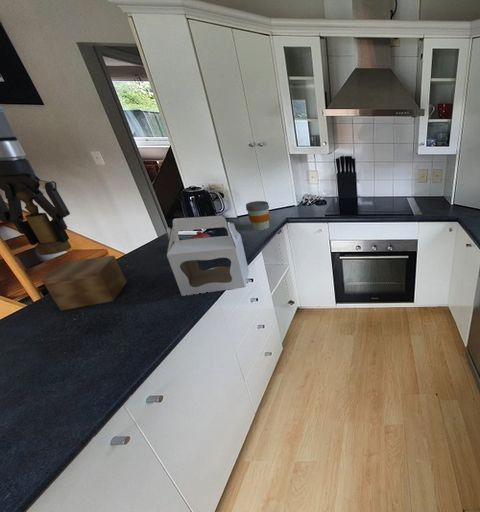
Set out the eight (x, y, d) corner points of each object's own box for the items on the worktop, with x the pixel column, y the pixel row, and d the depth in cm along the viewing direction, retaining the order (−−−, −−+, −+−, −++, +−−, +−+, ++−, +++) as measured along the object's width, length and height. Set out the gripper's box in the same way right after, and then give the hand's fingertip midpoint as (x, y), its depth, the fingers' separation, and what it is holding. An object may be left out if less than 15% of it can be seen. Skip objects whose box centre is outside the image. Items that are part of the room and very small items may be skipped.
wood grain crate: (60, 310, 92) (41, 280, 87) (80, 289, 104) (64, 262, 98) (113, 301, 98) (99, 272, 93) (126, 282, 109) (114, 255, 104)
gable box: (249, 271, 119) (235, 209, 106) (246, 287, 108) (230, 220, 95) (191, 278, 112) (168, 213, 100) (180, 296, 101) (154, 225, 89)
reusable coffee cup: (255, 232, 159) (250, 208, 153) (246, 227, 167) (241, 203, 160) (276, 227, 168) (272, 203, 161) (266, 222, 175) (262, 199, 168)
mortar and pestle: (52, 246, 83) (19, 187, 75) (77, 245, 84) (47, 187, 76) (31, 255, 77) (-7, 192, 69) (58, 254, 79) (23, 192, 71)
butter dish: (188, 246, 141) (183, 230, 137) (213, 240, 148) (208, 226, 144) (192, 253, 133) (187, 237, 129) (218, 247, 140) (214, 232, 136)
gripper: (-66, 161, 63) (-5, 251, 73) (45, 159, 70) (86, 242, 80) (-38, 157, 69) (14, 241, 79) (61, 156, 76) (97, 233, 86)
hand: (50, 241), depth 80 cm, fingers closed on mortar and pestle, 5 cm apart
